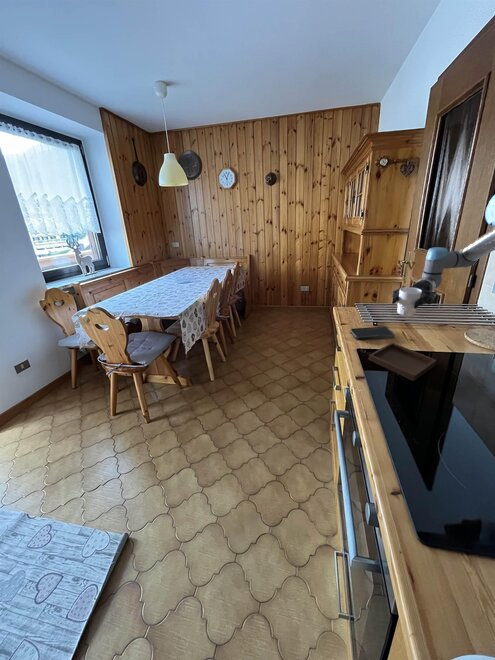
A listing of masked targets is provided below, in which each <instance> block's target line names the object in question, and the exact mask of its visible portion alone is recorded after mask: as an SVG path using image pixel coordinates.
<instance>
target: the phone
mask: <svg viewBox="0 0 495 660" xmlns="http://www.w3.org/2000/svg"><path fill="white" fill-rule="evenodd" d="M350 334H351V335H352V336H353V337H354V339H355V340H358V341H365V340H377V339H378V340H380V339H392V338H394V337H395V333H394V332H393V331H392V330H390V328H388V327H387V326H372V327H371V326H370V327H355V328H351V329H350Z"/></svg>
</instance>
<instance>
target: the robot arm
mask: <svg viewBox="0 0 495 660" xmlns="http://www.w3.org/2000/svg"><path fill="white" fill-rule="evenodd" d="M484 216H485V217H484V219H485V221H486V223H487V224H488V225H489V226H492V227H494V228H492V229H491V230H489V231H487V232H486V233H484V234H483V235H480V237H478V238H477V239H475V240H474V241H472V242H470V243H469V244H467V245H466V246H464V247H463V248H461V249H459V250H451V251H449V249H448V248H447V247H441V246H439V247H437V246H435V247H431V248H428V250H427V253H426V256H425V261H424V267H423V270H422V275H421V278H420V279H419V280H417V281H415V283H413V284H412V286H411V287H413V288H418V289H420V290H422V293H421V297H420V298H419V299H418V300H417V301H416V302H415V305H414V308H415V309H416V308H417V309H418V308H419V307H420V306H423V305H425V304H427V305H431V304H432V302H433V300H434V299H436V297H437V293H438V292H437V291H434V290H437V289H438V288H439V287H440V286H441V284H442V282H443V276H442V275H443V272H444V270H446V269H457V268H468V267H473V266H475V265H476V264H477V263H478V262H479V261H478V259H479V260H480V259H481V258H483V257H485V256H487V255H489V254H490V253H492V252H494V251H495V194H494V195H493V196H492V197H491V198H490V199H489V201H488V204H487V206H486V208H485V213H484ZM477 261H478V262H477ZM476 262H477V263H476ZM475 263H476V264H475ZM474 264H475V265H474ZM472 265H473V266H472ZM403 287H406V285H402V286H401V287H399V288H397V289H394V290H393V291H392V295H391V297H392V302H391V305H395V304H396V303H398V298H399V291H400V288H403ZM417 309H416V310H417Z"/></svg>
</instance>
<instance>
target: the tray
mask: <svg viewBox="0 0 495 660" xmlns="http://www.w3.org/2000/svg"><path fill="white" fill-rule="evenodd" d="M368 361H370V362H372V363H374V364H377V365H379V366H381V367H383V368H385V369H386V370H389V371H391V372H392V373H395V374H397V375H399V376H402V377H404V378H405V379H408V380H409V381H412V382H415V381H416V380H418V379H419V378H420V377H422V376H423V375H424V374H426V373H427V372H429V370H432V368H434V367H435V366H436V365H437V359H435V358H432V357H430V356H427V355H426V354H423V353H421V352H417V351H415V350H412V349H410V348H407V347H405V346H403V345H400V344H398V343H395V342H389V343H388V344H386V345H384V346H383V347H381V348H379V349H378V350H377V349H376V351H374V352H372V353H370V354H369V355H368Z"/></svg>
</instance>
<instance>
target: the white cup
mask: <svg viewBox="0 0 495 660" xmlns="http://www.w3.org/2000/svg"><path fill="white" fill-rule="evenodd" d="M399 288H400V291H399V298H398V301H397V309H396V312H397V314H399V315H401V316H406V317H412V316H415V314H416V312H417V309H418V307H417V308H416V309H415V308H414V305H415V302H416V301H417V300H418V299H419V298H420V297H421V293H422V290H420V289H418V288H413V287H412V286H405V287H403V288H401V287H399Z"/></svg>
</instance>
